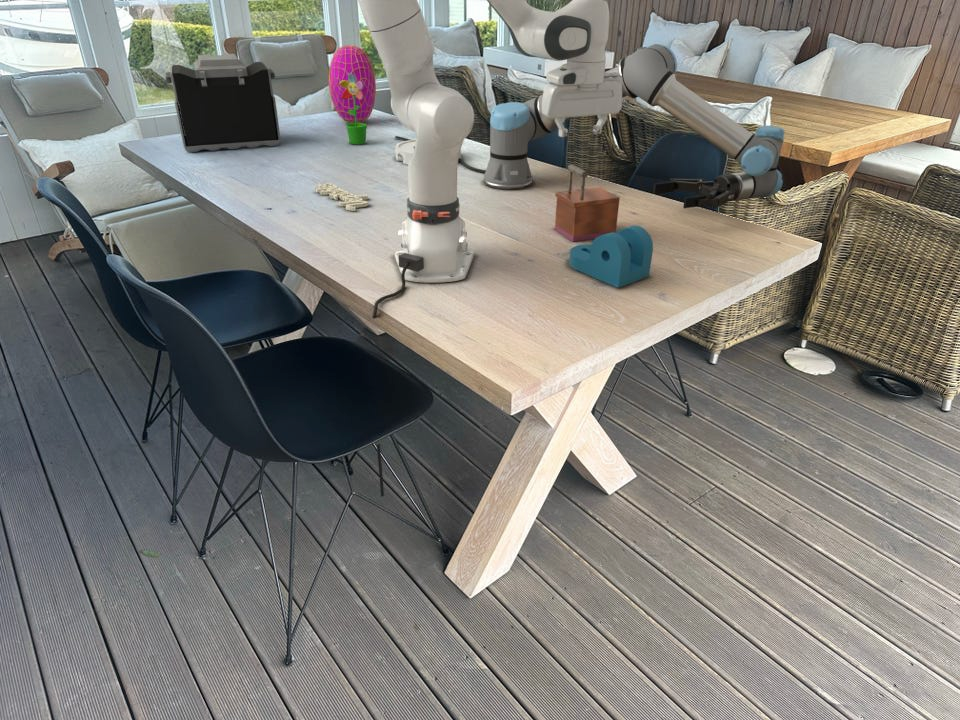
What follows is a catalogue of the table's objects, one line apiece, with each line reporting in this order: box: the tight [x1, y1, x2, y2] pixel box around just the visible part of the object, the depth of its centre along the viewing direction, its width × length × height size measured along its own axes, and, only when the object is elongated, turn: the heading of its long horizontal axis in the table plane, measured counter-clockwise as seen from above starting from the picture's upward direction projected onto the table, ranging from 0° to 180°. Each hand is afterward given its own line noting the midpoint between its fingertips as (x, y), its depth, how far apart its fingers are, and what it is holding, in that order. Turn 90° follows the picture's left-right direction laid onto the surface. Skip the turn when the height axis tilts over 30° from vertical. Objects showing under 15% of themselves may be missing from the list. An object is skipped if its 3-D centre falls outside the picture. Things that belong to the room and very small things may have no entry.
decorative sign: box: [315, 182, 369, 212], centre depth 203 cm, size 26×1×10 cm
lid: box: [554, 164, 621, 207], centre depth 173 cm, size 13×10×8 cm
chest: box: [554, 197, 620, 242], centre depth 178 cm, size 13×10×9 cm
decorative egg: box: [328, 44, 377, 124], centre depth 286 cm, size 19×19×30 cm
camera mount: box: [568, 224, 654, 289], centre depth 156 cm, size 18×10×10 cm, turn 39°
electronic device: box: [164, 53, 282, 153], centre depth 252 cm, size 37×22×30 cm, turn 111°
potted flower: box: [339, 73, 368, 145], centre depth 255 cm, size 9×8×25 cm
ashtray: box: [394, 138, 462, 165], centre depth 243 cm, size 23×23×4 cm
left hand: (579, 135), depth 166 cm, fingers open, 8 cm apart
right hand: (669, 195), depth 185 cm, fingers open, 13 cm apart
